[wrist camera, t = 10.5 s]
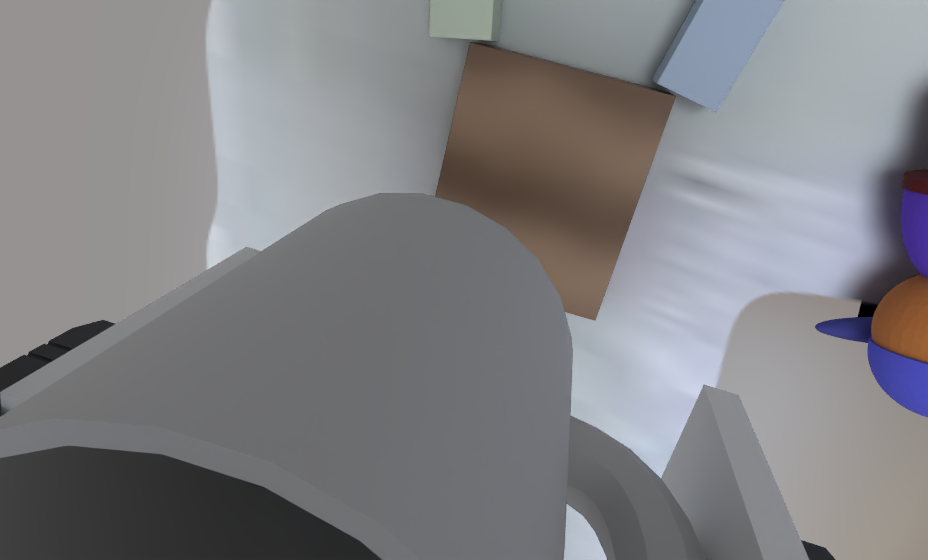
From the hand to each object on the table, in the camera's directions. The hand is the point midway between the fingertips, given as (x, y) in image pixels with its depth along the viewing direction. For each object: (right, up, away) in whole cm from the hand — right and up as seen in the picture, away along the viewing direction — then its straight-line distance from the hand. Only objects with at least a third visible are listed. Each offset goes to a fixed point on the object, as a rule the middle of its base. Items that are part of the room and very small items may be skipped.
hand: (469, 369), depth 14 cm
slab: (+4, +8, +20) cm, 21 cm away
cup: (0, 0, 0) cm, 0 cm away
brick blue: (+12, +14, +16) cm, 24 cm away
